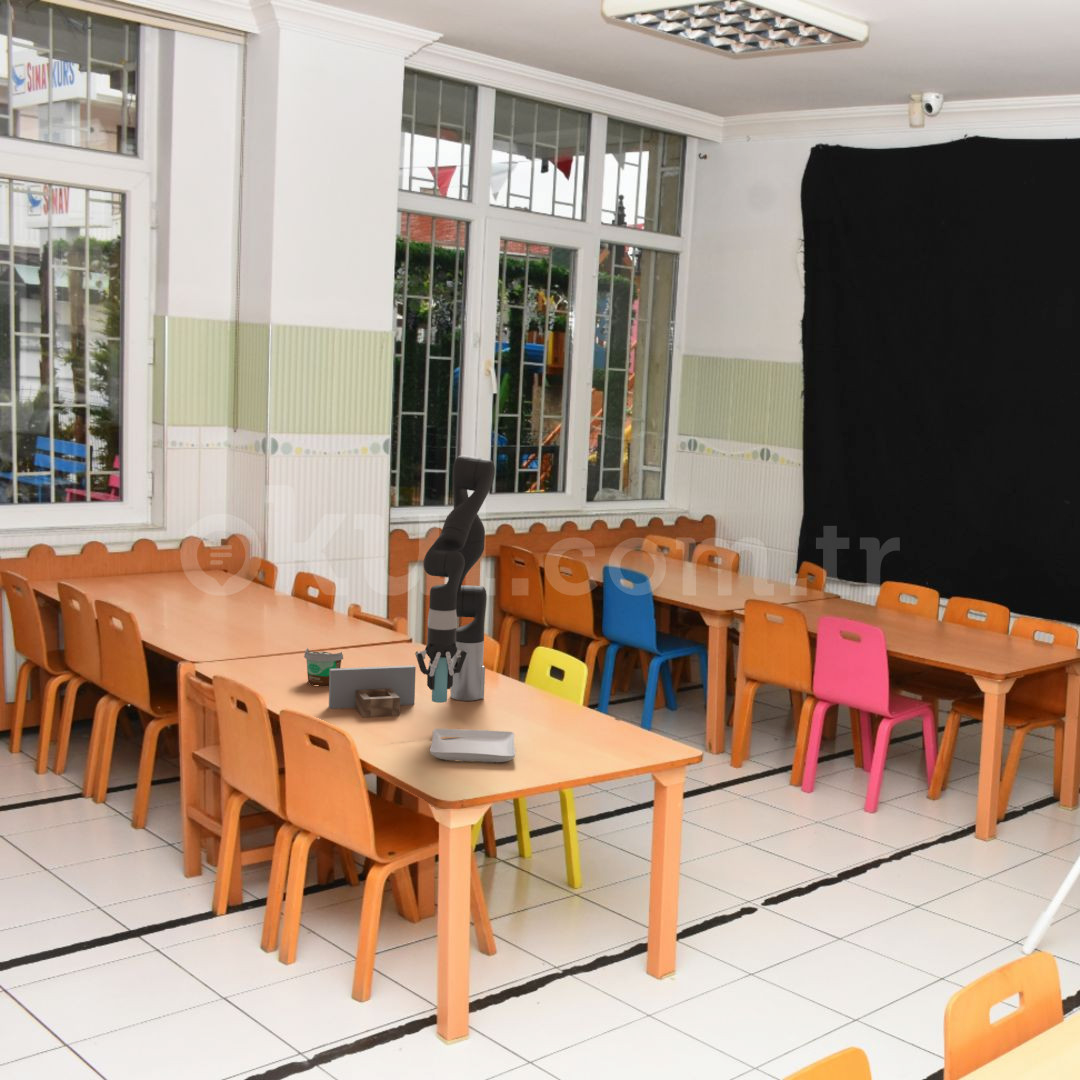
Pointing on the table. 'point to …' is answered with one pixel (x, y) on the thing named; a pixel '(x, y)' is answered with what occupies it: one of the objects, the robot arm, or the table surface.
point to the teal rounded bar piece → (440, 681)
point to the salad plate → (473, 745)
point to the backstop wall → (370, 683)
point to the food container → (321, 666)
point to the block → (377, 702)
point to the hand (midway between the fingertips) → (439, 688)
